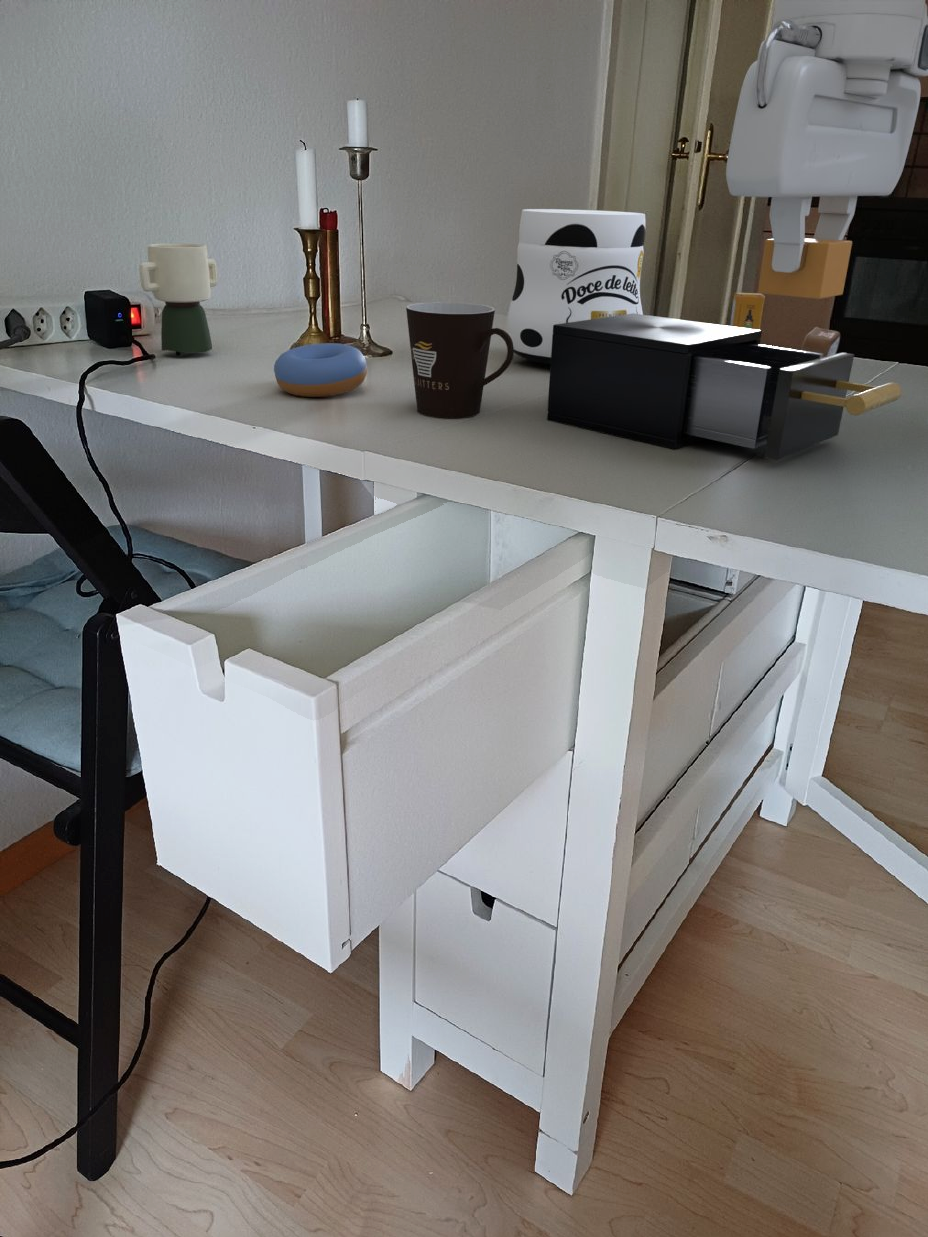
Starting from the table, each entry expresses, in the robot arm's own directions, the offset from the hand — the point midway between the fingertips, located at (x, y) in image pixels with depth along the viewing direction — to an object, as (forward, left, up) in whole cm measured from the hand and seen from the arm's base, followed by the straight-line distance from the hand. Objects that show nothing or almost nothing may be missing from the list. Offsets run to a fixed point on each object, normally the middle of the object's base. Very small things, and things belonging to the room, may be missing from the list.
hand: (804, 269), depth 64 cm
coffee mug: (+34, -1, -17) cm, 38 cm away
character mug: (+79, +1, -17) cm, 81 cm away
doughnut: (+51, +2, -17) cm, 54 cm away
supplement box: (+24, -41, -17) cm, 51 cm away
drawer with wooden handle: (+7, -13, -15) cm, 21 cm away
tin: (+10, -29, -17) cm, 35 cm away
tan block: (0, 0, -2) cm, 2 cm away
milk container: (+44, -34, -17) cm, 58 cm away
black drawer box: (+19, -13, -16) cm, 28 cm away
